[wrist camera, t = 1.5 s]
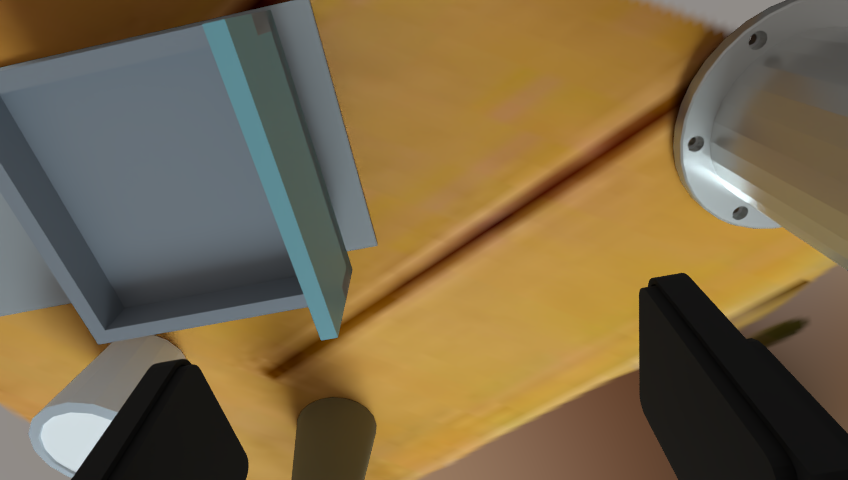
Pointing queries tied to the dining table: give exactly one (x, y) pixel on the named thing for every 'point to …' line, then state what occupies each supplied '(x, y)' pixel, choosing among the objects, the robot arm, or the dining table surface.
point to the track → (38, 288)
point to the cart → (174, 182)
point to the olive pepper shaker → (333, 441)
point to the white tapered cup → (94, 401)
